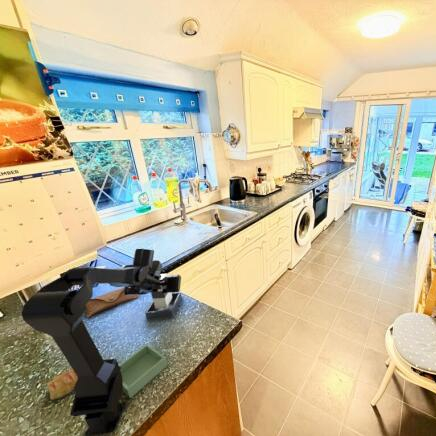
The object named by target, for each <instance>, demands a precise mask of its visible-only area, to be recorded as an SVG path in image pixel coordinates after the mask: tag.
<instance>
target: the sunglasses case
mask: <svg viewBox="0 0 436 436" xmlns="http://www.w3.org/2000/svg"><path fill="white" fill-rule="evenodd" d="M138 298H139V295H138V294H136V295H129V296H127V295H125V294H124V287H120V288H119V289H118V288H117V289H115V290H113V291H110V292H107V293H103V294H101V295H99V296H96V297H92V298H91V299H90V300H89V302H88V303H87V304H86V308H87V310H86V312H85V315H86V318H91V317H93V316H95V315H97V314H101V313H103V312H105V311H108V310H111V309H113V308H115V307H118V306H119V305H122V304H126V303H127V302H131V301H133V300H136V299H138Z"/></svg>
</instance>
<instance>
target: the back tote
mask: <svg viewBox="0 0 436 436" xmlns="http://www.w3.org/2000/svg"><path fill="white" fill-rule="evenodd" d="M182 299H183V296H182V292H181V291H179V292H174V293H172V300H171V301H170V303H169V305H168V307H167V308H157V309H155V305H154V301H153V300H152V301H151V303H150V304H149V306H148V307H147V309H146V311H145V313H144V314H145V319H146V320H154V319H155V320H156V319H166V318H174V317H175V314H176V312H177V310H178V307H179V305H180V303H181V301H182Z"/></svg>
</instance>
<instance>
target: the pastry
mask: <svg viewBox="0 0 436 436" xmlns="http://www.w3.org/2000/svg"><path fill="white" fill-rule="evenodd" d="M77 379H78V376H77V375H76V373H75V372H74V370H73V369H72V368H71V369H69V370H66V371H63V372H62V373H61V374H58V375H56V376H54V377H53V379H52V380H51V381H48V382H47V383H46V387H47V390H48V392H49V395H50V396H49V398H50V400H52V401H53V400H56V399H61V398H63V397H65V396H66V395H68V394H70V393H71V392H73V391H75V389H74V386H75V383H76V381H77Z"/></svg>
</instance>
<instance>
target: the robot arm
mask: <svg viewBox="0 0 436 436" xmlns="http://www.w3.org/2000/svg"><path fill="white" fill-rule="evenodd" d="M154 255H155V250H154V249H147V248H143V247H141V248H139V247H138V248H136V249H135V250H134V255H133V260H132V264H124V265H122V266H120V267H116V268H103V267H95V266H76V267H72V268H69V269H68V270H67V271H65V272H64V273H63V274H62V275H61V276H60V277H58V278H56V279H54V280H52V281H50V282H48V283H47V284H45V285H43V286H41V288H39V290H37V291H36V293H34V294H33V295H32V296H30V298H29V299H28V300H27V301H26V302H25V303H24V304H23V307H22V311H21V318H22V320H23V321H24V322H25V323H26V324H27V325H29V327H31V328H32V329H33V330H35V331H38V332H39V333H43V334H46V335H48V336H50V337H52V339H53V340H54V342H55V344H56V345H57V347H58V348H59V350H60V351H61V353H62V355H63V356H64V358H65V359H66V361H67V362H68V365H70V368H71V369H73V370H74V372H75V373H76V375H77V376H78V379H77V381H76V383H75V386H74V392H75V393H74V397H73V402H72V405H71V410H70V414H69V415H70V416H71V417H74V418H75V417H78V416H79V417H80V416H85V417H84V421H85V423H86V425H87V429H86V431H85V433H84V436H99V435H106V434H112V433H114V432H115V431H116V428H117V427H118V424H119V422H120V421H121V418H122V415H123V414H124V411H125V409H126V407H127V403H126V402H120V399H121V398H122V396H123V393H124V392H123V379H122V374H121V371H120V369H121V367H120V366H119V365H120V364H119V362H118V360H117V359H116V358H107V359H106V358H105V359H103V357H102V355H101V353H100V351H99V349H98V347H97V346H96V344H95V342H94V340H93V338H92V336H91V334H90V332H89V330H88V328H87V327H86V325H85V323H84V321H83V319H84V317H85V315H86V310H87V308H86V304H87V303H88V302H89V300H90V299H93V297H94V285H97V284H98V285H101V284H104V285H105V284H108V285H109V286H110V287H113V288H124V294H125V295H127V296H129V295H136V294H137V296H140V295H143V296H144V295H147V294H151V293H152V292H158V289H162V287H163V291H162V293H176V292H181V283H182V276H181V275H179V274H169V275H168V277H164V278H163V279H161V275H160V274H161V272H162V268H163V264H162V263H161V261H160V260H159V259H157V260H154ZM160 279H161V280H160ZM161 282H162V283H161ZM73 286H80V288H79V289H78V290H71V289H72V288H73ZM160 286H161V287H160Z"/></svg>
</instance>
